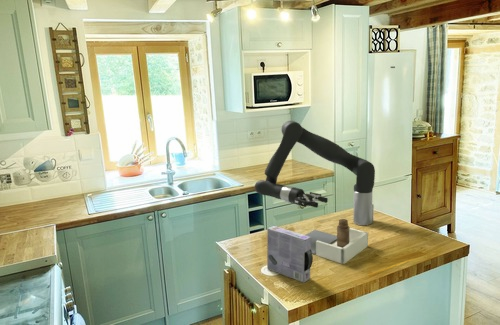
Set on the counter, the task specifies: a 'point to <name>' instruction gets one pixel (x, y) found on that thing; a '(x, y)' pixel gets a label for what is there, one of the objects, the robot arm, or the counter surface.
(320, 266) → the counter surface
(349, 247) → the cubby
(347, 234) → the pepper mill
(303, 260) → the cake pan box
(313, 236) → the serving board
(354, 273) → the counter surface
